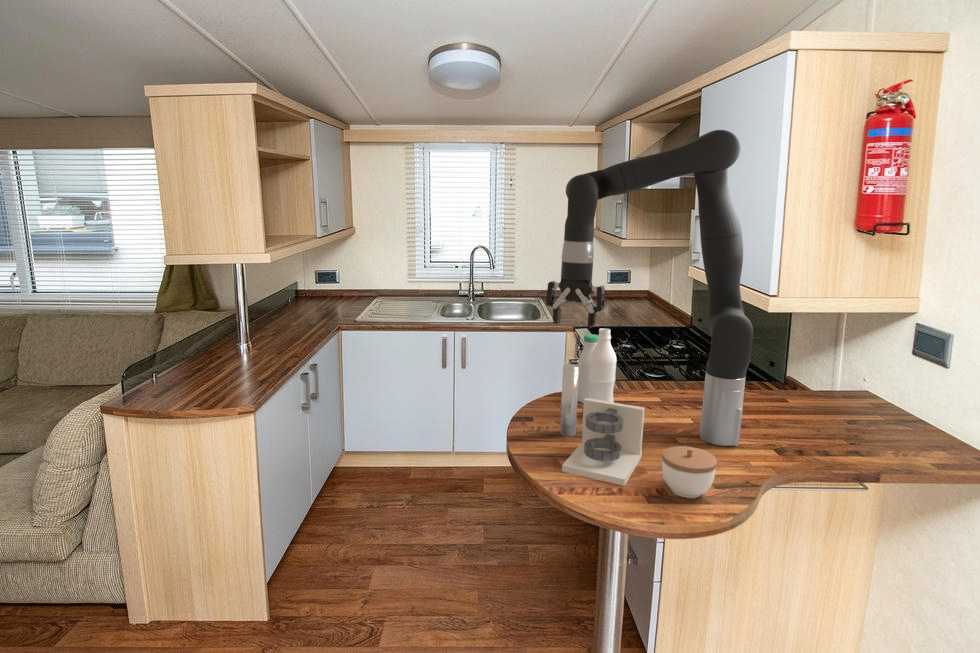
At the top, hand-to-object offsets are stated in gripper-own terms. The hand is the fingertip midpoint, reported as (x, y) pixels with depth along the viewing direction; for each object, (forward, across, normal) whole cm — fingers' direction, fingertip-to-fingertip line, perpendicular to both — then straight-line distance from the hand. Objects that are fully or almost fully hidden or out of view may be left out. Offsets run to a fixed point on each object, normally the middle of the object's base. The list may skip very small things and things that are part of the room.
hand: (573, 325), depth 145 cm
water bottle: (+29, -4, -15) cm, 33 cm away
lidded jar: (+28, -32, +17) cm, 46 cm away
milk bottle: (+29, +3, -27) cm, 39 cm away
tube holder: (+28, -14, +14) cm, 34 cm away
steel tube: (+28, 0, 0) cm, 29 cm away
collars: (+25, -13, +12) cm, 31 cm away
